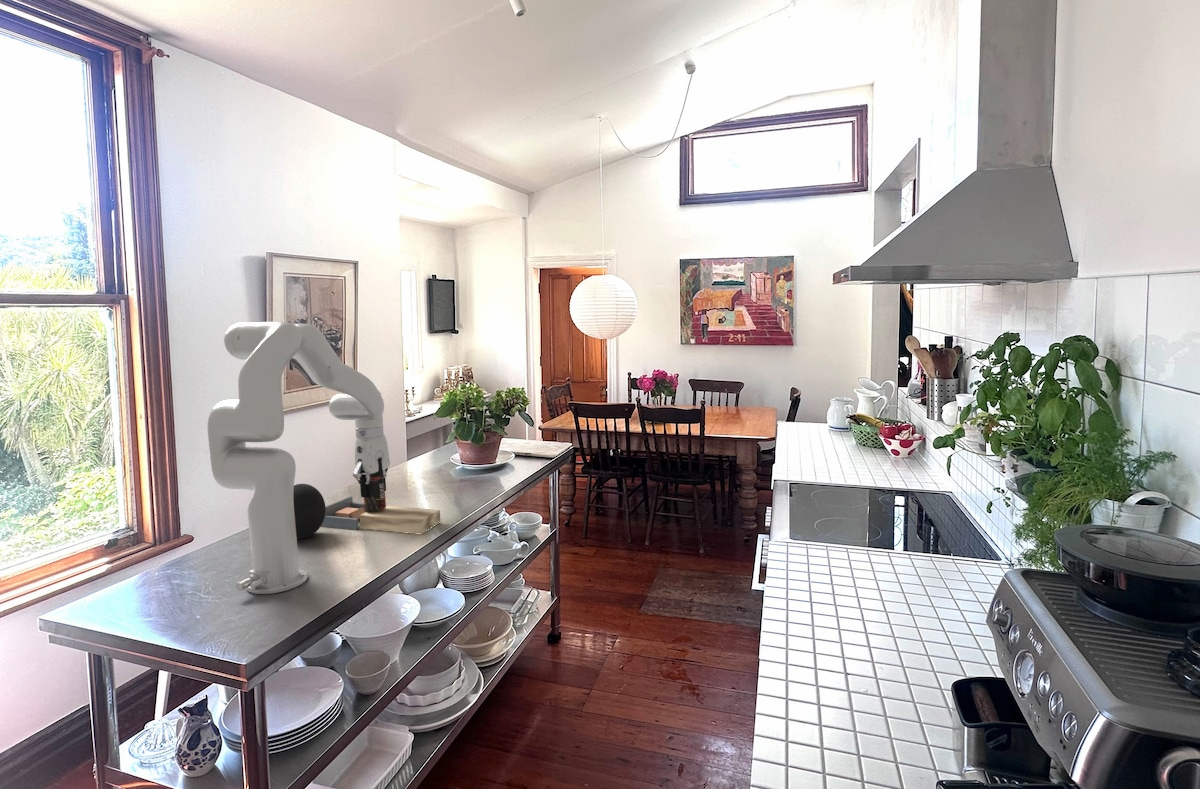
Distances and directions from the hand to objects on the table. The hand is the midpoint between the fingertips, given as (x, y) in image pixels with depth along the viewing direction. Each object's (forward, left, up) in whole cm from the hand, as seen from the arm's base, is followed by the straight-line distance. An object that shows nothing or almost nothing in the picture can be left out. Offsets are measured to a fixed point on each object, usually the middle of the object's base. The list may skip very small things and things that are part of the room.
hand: (373, 493), depth 191 cm
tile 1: (+1, +10, -6) cm, 12 cm away
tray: (+1, +9, -9) cm, 13 cm away
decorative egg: (-15, +13, -9) cm, 22 cm away
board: (0, -8, -9) cm, 12 cm away
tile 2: (+1, +4, -7) cm, 8 cm away
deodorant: (0, 0, -5) cm, 5 cm away
